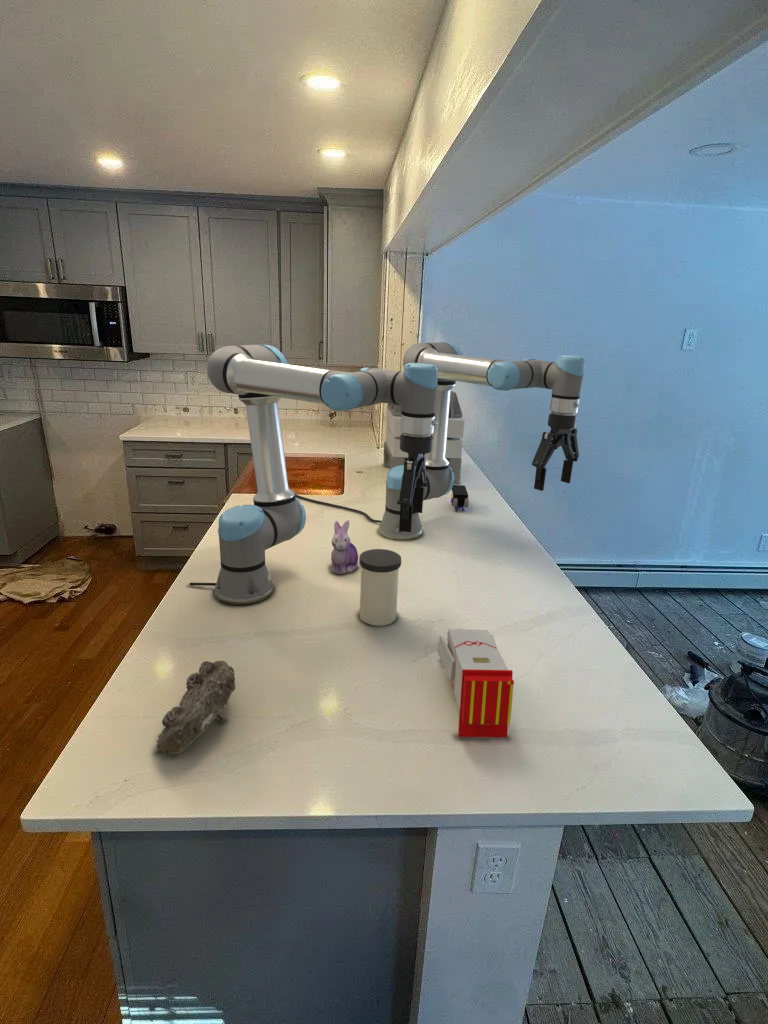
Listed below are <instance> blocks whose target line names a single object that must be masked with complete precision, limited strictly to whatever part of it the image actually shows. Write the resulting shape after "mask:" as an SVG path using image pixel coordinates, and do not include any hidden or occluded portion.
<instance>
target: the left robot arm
mask: <svg viewBox="0 0 768 1024" xmlns="http://www.w3.org/2000/svg"><path fill="white" fill-rule="evenodd" d="M206 372H207V377H208V379H209V381H210V383H211V385H213V387H215V389H216V390H218V391H221V392H223V393H224V394H225V393H226V394H231V395H232V394H233V395H238V400H239V401H240V402H242V404H244V405H245V411H246V418H247V419H246V420H247V425H248V432H249V439H250V447H251V453H252V454H251V455H252V461H253V469H254V475H255V481H256V488H257V489H256V490H257V492H256V493H255V495H254V496H253V497H252V501H253V504H242V505H236V506H233V507H229V508H228V509H226V510H225V511H223V512H222V513H221V514H220V516H219V518H218V528H217V534H218V542H219V543H218V544H219V557H220V559H219V560H220V569H219V573H218V576H217V580H216V582H189V586H211V587H212V586H213V587H214V593H215V597H216V599H217V600H219V601H221V602H222V603H225V604H228V605H234V606H235V605H236V606H245V605H246V606H247V605H252V604H257V603H260V602H262V601H264V600H266V599H268V598H269V597H271V595H272V594H273V591H274V585H273V583H274V582H273V580H272V576H271V573H270V572H269V570H268V567H267V565H266V551H267V550H269V549H271V548H273V547H275V546H277V545H280V544H282V543H284V542H286V541H287V542H288V541H290V540H292V539H294V538H295V536H298V535H300V534H301V532H302V531H303V529H304V527H305V526H306V522H307V513H306V508H305V507H304V505H303V504H302V502H301V501H300V500H299V498H298V497H296V496H295V494H296V493H295V492H294V491H293V490H291V489H290V487H289V482H288V481H289V480H288V471H287V464H286V463H287V462H286V456H285V455H286V454H285V447H284V440H283V432H282V423H281V415H280V408H279V402H280V400H281V399H288V400H289V399H290V400H294V401H301V402H307V403H312V404H313V403H314V404H319V405H325V406H326V407H328V408H329V409H330V410H331V411H335V412H348V411H352V410H355V409H358V408H362V407H363V408H364V407H369V406H373V405H377V404H387V405H388V404H396V405H402V414H401V429H400V431H401V432H402V434H401V435H400V450H401V451H403V452H407V453H408V459H406V460H405V461H404V471H403V477H402V484H401V491H400V497H399V501H397V504H398V505H401V506H400V522H399V531H403V532H411V527H412V512H416V513H418V514H422V513H423V510H424V509H423V507H424V501H423V495H424V488H423V487H427V483H426V459H425V457H426V454H427V453H430V452H431V451H432V448H433V436H432V435H431V434H432V433H433V431H434V425H437V421H434V418H435V405H436V395H437V387H438V384H437V382H438V370H437V367H436V366H434V365H432V364H424V363H408V364H406V365H405V366H403V369H402V370H394V369H393V370H392V369H386V368H379V367H376V366H375V367H362V368H360V369H359V370H358V371H353V372H352V371H351V372H349V371H342V370H341V371H340V370H332V369H327V368H319V367H318V368H317V367H311V366H303V365H296V364H289V363H288V361H287V359H286V357H285V355H284V354H283V353H282V352H281V351H280V350H279V349H278V348H277V347H275V346H273V345H271V344H262V343H261V344H258V343H256V344H244V345H243V344H241V345H226V346H223V347H220V348H218V349H217V350H215V351H214V352H213V353H212V354H211V355H210V356H209V358H208V361H207V367H206ZM415 486H416V487H415ZM404 499H408V500H404Z"/></svg>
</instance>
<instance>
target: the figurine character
mask: <svg viewBox="0 0 768 1024" xmlns="http://www.w3.org/2000/svg"><path fill="white" fill-rule="evenodd" d="M449 502H450V504H451V506H452V507H453V508H454V511H456V512H457V511H458V509H461V511H462V512H464V511H465V508H469V505H470V500H469V492H468V490H467V488H466V485H464V484H463V485H461V484H453V487H452V489H451V494H450V501H449Z"/></svg>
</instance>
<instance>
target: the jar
mask: <svg viewBox="0 0 768 1024" xmlns="http://www.w3.org/2000/svg"><path fill="white" fill-rule="evenodd" d="M399 572H400V567H399V568H398V569H397V570H395V571H391V572H384V573H381V572H372V571H368V570H366V569H364V568H362V567H361V566H360V586H359V587H360V590H359V619H360V620H361V621H362V622H363V623H365V624H368V625H371V626H376V627H377V626H387V625H390V624H392V623H394V622H395V621H396V619H397V608H398V591H399Z"/></svg>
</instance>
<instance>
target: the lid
mask: <svg viewBox="0 0 768 1024" xmlns="http://www.w3.org/2000/svg"><path fill="white" fill-rule="evenodd" d="M358 564H359V566H360V568H361V567H362V568H364V569H366V570H368V571H372V572H381V573H384V572H391V571H395V570H397V569H398V568H399V569H400V568H401V566H402V556H401V555H400V554H399V553H398V552H396V551H393V550H390V549H385V548H384V549H383V548H374V549H373V548H372V549H368V550H365V551H363V552H361V553H360V555H359V556H358Z"/></svg>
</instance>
